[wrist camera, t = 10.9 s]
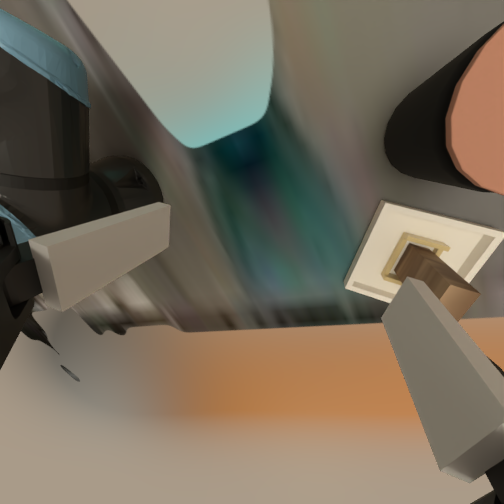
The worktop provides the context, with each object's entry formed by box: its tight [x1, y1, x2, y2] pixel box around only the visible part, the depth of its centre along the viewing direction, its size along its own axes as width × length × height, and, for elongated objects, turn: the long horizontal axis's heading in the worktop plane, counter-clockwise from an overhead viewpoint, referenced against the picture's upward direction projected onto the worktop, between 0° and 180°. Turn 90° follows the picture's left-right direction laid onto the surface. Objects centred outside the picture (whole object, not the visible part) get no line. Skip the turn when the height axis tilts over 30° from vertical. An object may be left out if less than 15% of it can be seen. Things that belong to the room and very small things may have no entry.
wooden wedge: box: [394, 243, 480, 322], centre depth 27 cm, size 3×5×12 cm, turn 167°
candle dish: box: [344, 200, 504, 303], centre depth 32 cm, size 14×14×3 cm
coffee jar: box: [385, 22, 504, 196], centre depth 19 cm, size 11×11×18 cm
